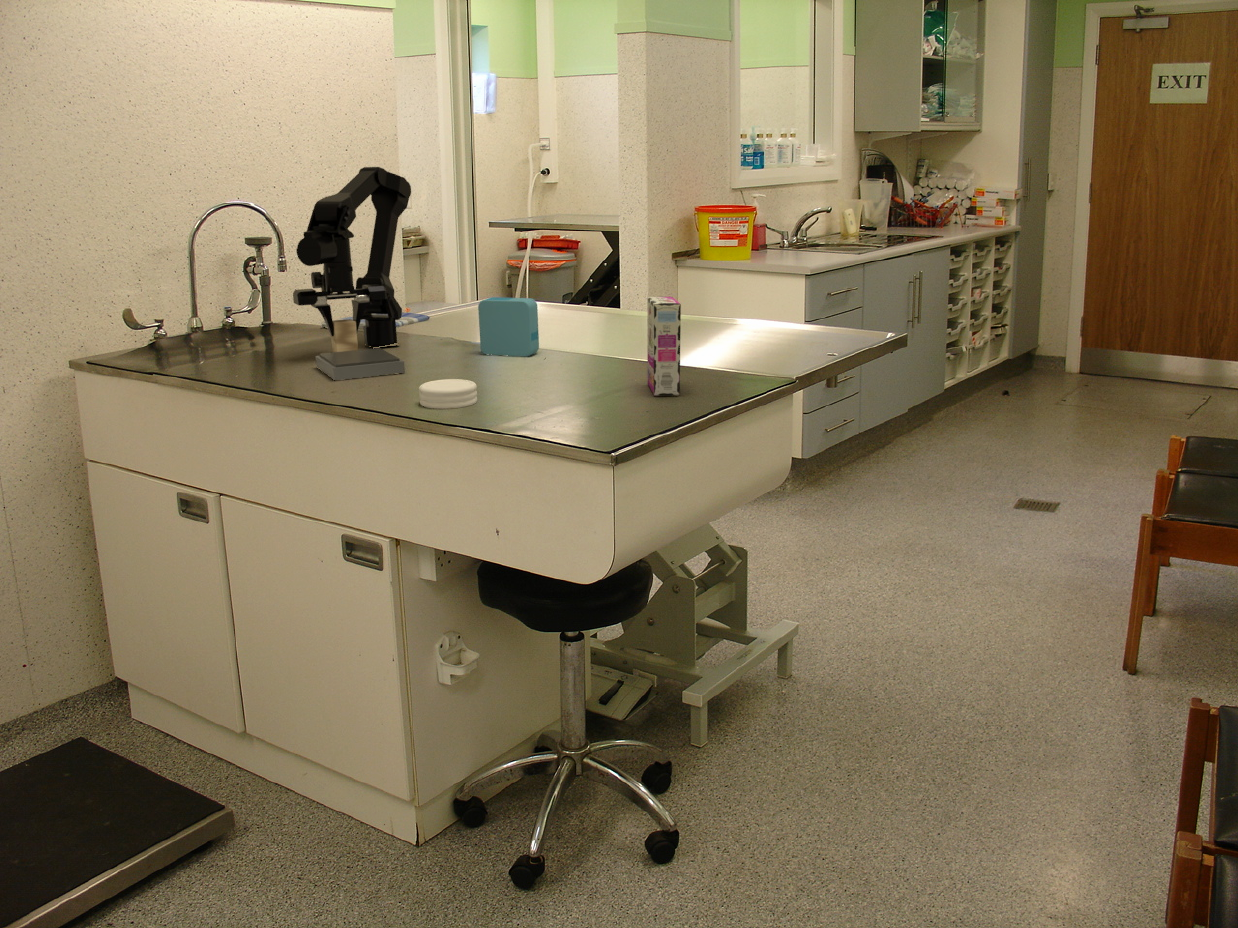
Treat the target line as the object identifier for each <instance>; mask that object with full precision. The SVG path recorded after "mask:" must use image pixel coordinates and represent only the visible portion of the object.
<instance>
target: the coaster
mask: <svg viewBox="0 0 1238 928" xmlns="http://www.w3.org/2000/svg"><path fill="white" fill-rule="evenodd" d="M477 387H478V386H477V383H475V382H474V381H471V380H469V379H468V380H467V379H460V378H459V379H457V378H447V379H446V378H445V379H437V380H431V381H426V382H423V383H422V384H421V385H420V386H419V387H418V391H419V394H418V397H419V404H420V406H422V407H423V406H424V407H423V408H427V409H433V408H434V410H437V409H438V410H448V409H461V408H465V407H469V406H473V405H475V404H476V403H477V402H478V397H477V394H478V392H477Z"/></svg>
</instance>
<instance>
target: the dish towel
mask: <svg viewBox="0 0 1238 928" xmlns="http://www.w3.org/2000/svg"><path fill="white" fill-rule="evenodd" d="M380 315H388V314H380ZM430 318H431V317H430V316H429V315H426V314H422V313H414V312H413V313H412V312H405V311H404V312H403V311H402V316H401V318H400V320H396V328H399V327H403V326H407V325H408V326H409V325H412V324H417V323H422V322H427V321H429V319H430ZM347 319H351V320H353V316H347V317H342V318H338V319H337V318H336V319H332V321H335V320H347ZM321 326H322V327H327V325H326V323H325V321H324V320H323V321H322V322H321V325H320V327H321ZM364 326H366V325H365V320H361V321H360V325H359V328H358V329H363V327H364ZM322 327H321V328H322Z"/></svg>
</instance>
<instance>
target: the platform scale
mask: <svg viewBox="0 0 1238 928" xmlns="http://www.w3.org/2000/svg"><path fill="white" fill-rule="evenodd" d="M316 366H317V367H318V368H320V369H321V370H322V371H323V372H325V373H326V374H327V375H329V376H330V377H331V378H332V379H333V380H332V379H331V378H330V379H331V380H332V381H334V380H341V379H350V380H353V379H352V378H359V379H362V378H361V377H369V378H371V377H370V376H378V377H380V376H379V375H386V374H395V373H405V374H406V371H405V369H406V368H405V361H404V360H403V359H401V358H399V357H398V356H395V355H394V354H392V353H390V352H388V351H386V350H385V349H383V348H374V349H372V348H366V349H358V350H353V351H343V352H332V351H331V352H324V353H323V352H322V353H319V354H318V355H315V367H316ZM323 372H322V373H323ZM327 375H326V376H327ZM341 381H342V380H341Z"/></svg>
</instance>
